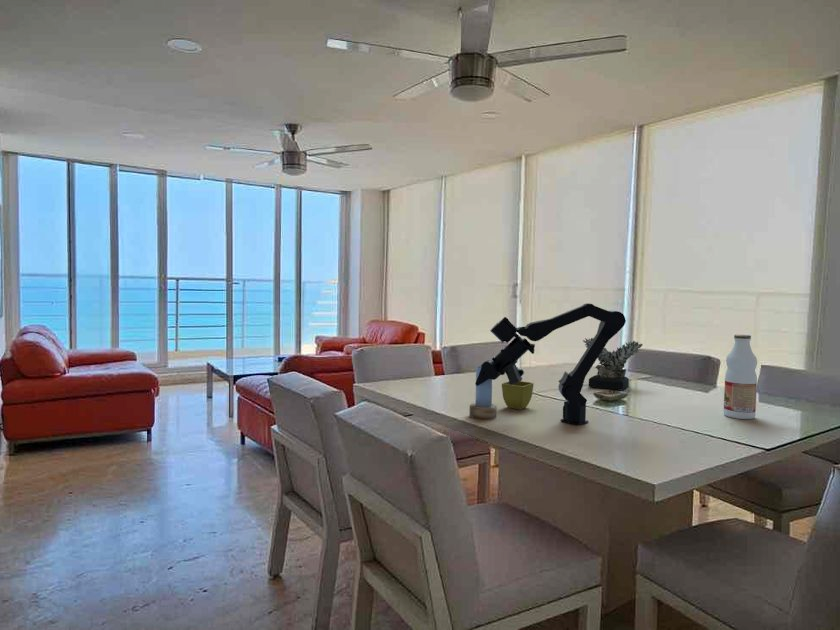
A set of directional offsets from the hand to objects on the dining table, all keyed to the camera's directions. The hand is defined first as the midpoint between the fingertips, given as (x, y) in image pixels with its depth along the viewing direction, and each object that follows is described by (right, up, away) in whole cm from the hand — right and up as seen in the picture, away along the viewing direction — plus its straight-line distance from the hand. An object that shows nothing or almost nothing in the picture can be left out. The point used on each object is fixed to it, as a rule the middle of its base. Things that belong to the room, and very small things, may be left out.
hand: (479, 383), depth 180 cm
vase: (+1, -8, 0) cm, 8 cm away
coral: (+65, -9, +58) cm, 87 cm away
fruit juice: (+89, -12, +4) cm, 90 cm away
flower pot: (+15, -11, +14) cm, 23 cm away
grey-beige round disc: (+1, -11, 0) cm, 11 cm away
